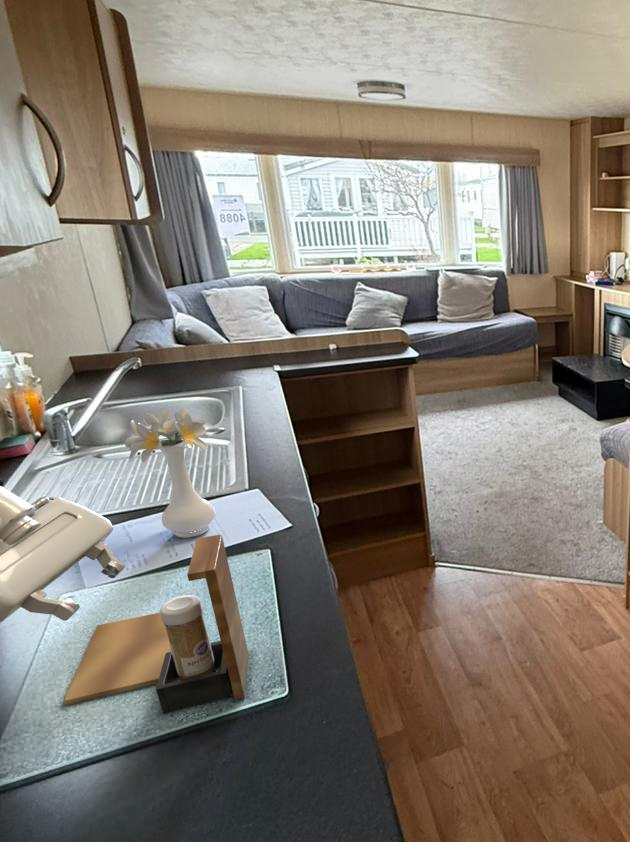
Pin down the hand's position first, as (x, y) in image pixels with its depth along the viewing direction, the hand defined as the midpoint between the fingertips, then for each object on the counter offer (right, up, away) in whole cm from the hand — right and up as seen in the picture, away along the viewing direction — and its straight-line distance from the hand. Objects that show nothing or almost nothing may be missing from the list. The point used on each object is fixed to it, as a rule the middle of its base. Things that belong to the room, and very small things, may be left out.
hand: (98, 592), depth 83 cm
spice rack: (+9, -14, +6) cm, 18 cm away
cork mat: (-5, -12, +13) cm, 18 cm away
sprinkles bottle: (+9, -15, +6) cm, 18 cm away
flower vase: (-19, +2, +49) cm, 52 cm away
